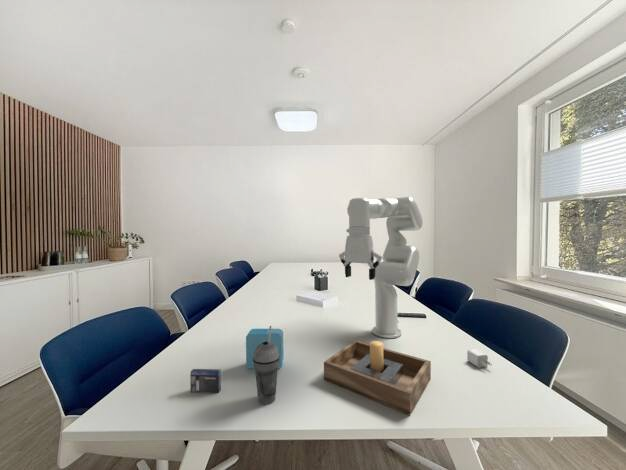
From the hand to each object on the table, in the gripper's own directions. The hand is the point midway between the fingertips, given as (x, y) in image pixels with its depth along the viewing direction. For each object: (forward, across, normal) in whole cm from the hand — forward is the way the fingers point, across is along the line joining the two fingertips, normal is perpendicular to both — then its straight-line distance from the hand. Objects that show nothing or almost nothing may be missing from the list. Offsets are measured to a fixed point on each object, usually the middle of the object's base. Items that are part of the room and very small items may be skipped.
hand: (359, 278), depth 97 cm
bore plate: (+28, +12, -12) cm, 33 cm away
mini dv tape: (+29, -25, -47) cm, 60 cm away
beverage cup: (+28, -8, -39) cm, 49 cm away
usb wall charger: (+29, +36, +16) cm, 49 cm away
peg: (+27, +12, -12) cm, 32 cm away
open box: (+28, +12, -12) cm, 33 cm away
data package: (+29, -22, -27) cm, 45 cm away
